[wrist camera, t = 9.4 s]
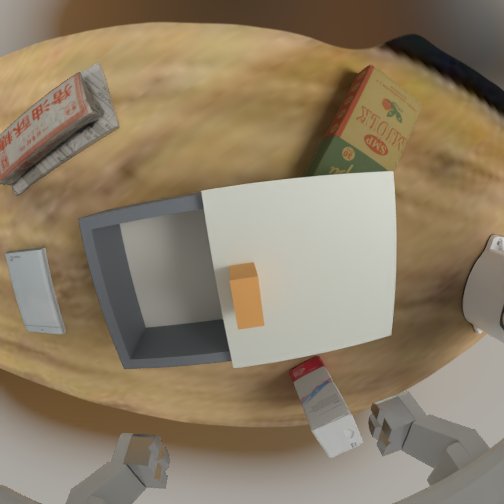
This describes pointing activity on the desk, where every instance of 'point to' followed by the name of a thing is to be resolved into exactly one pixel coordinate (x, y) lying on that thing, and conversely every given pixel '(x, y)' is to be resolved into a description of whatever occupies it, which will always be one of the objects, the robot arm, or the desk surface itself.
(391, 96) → the carton
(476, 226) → the desk surface
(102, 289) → the charcoal box
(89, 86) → the packaged product
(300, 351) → the lid flap
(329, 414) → the ink box
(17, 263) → the hard drive
